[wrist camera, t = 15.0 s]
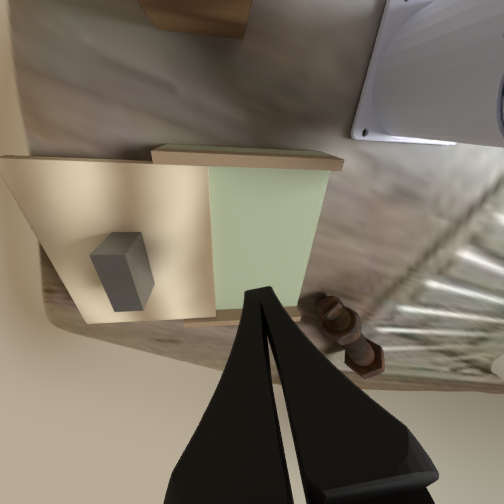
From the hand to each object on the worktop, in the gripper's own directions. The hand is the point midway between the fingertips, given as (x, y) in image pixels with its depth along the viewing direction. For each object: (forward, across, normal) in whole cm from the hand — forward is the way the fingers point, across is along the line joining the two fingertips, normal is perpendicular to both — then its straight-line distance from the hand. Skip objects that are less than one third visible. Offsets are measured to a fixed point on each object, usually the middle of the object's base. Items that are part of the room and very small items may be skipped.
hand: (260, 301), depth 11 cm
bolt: (+11, -11, +19) cm, 24 cm away
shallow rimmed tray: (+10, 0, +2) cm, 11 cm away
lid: (+8, +9, 0) cm, 12 cm away
